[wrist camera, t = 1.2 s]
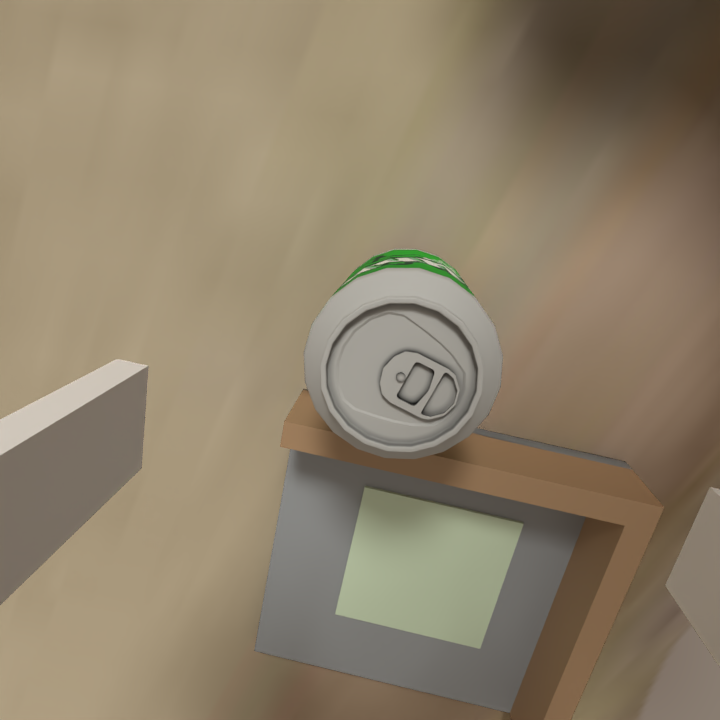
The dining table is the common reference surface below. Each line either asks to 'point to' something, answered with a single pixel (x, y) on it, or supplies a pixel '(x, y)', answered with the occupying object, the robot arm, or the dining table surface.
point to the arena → (521, 584)
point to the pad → (426, 566)
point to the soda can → (403, 357)
